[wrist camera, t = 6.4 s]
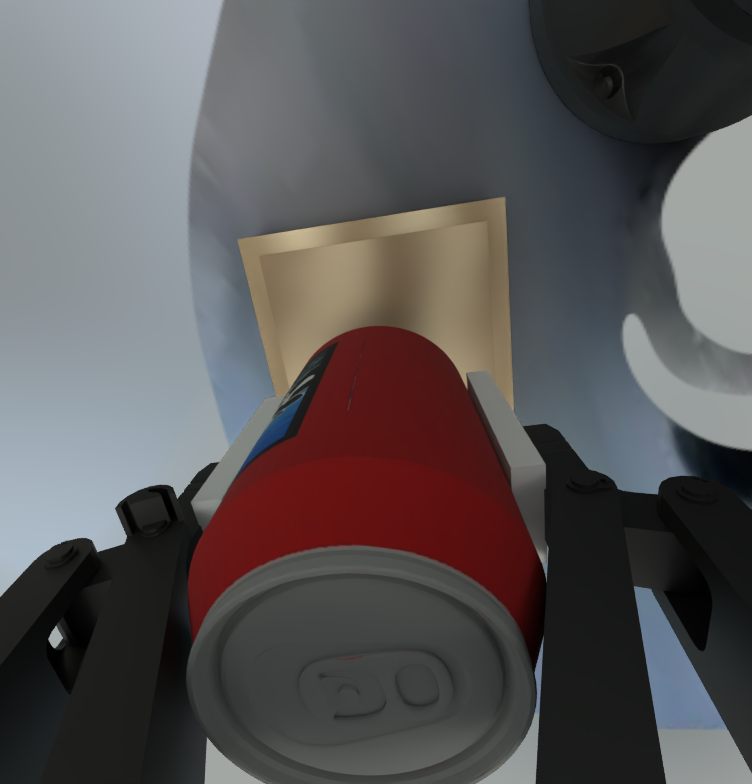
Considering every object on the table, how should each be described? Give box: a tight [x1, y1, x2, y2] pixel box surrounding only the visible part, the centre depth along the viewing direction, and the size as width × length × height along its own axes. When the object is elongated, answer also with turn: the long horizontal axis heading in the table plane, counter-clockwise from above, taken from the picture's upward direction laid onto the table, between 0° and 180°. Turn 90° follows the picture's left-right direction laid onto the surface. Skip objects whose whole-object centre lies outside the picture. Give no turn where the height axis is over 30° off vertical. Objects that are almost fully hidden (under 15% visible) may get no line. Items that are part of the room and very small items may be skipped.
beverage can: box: [186, 326, 547, 784], centre depth 12 cm, size 7×7×12 cm
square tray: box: [237, 197, 514, 412], centre depth 27 cm, size 14×14×4 cm
